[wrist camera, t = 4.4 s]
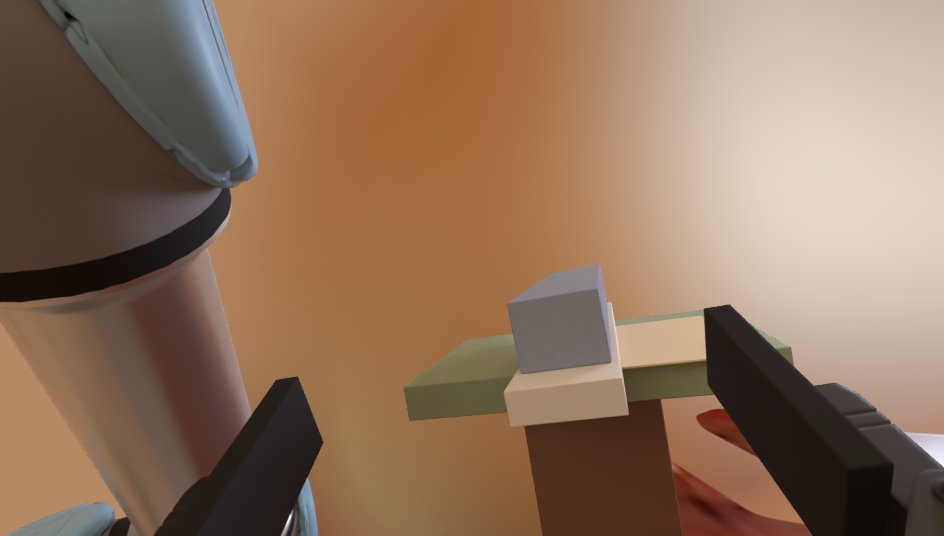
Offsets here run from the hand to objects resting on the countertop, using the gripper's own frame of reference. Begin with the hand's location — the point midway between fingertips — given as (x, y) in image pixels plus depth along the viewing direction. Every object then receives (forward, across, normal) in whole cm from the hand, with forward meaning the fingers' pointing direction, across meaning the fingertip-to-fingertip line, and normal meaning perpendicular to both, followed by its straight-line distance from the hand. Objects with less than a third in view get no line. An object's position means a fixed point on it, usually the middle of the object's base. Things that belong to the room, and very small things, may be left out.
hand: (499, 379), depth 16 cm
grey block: (+12, +4, -7) cm, 14 cm away
